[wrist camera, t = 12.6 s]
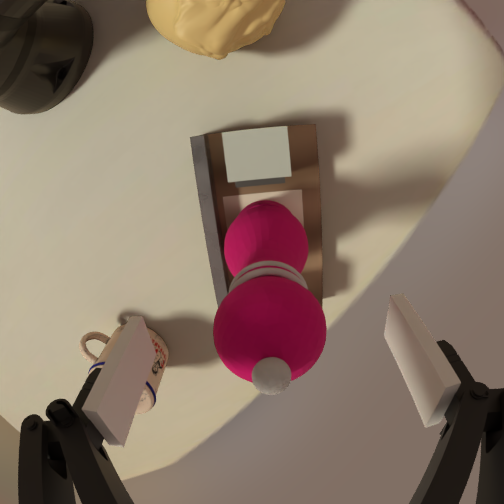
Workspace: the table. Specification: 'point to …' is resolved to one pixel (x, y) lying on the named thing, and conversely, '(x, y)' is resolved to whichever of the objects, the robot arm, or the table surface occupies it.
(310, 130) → the wooden frame tray
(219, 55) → the sculpture
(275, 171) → the block
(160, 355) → the teacup with lid
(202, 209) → the steel rail bar
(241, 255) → the pepper mill
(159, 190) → the table surface
